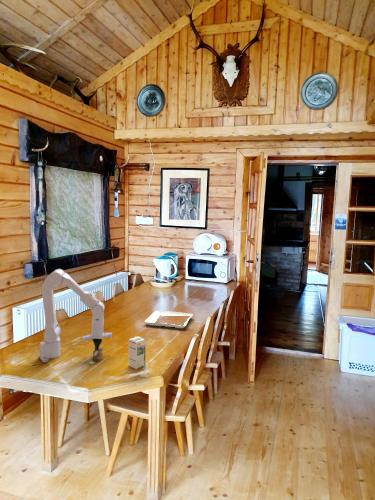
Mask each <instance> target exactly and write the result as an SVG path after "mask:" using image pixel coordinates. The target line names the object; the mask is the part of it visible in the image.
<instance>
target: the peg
mask: <svg viewBox="0 0 375 500" xmlns="http://www.w3.org/2000/svg"><path fill="white" fill-rule="evenodd" d="M103 351H104V350H103V346H99V349H98V350H95V349H94V350H93V351H92V361H93V362H101V361H102V360H103Z"/></svg>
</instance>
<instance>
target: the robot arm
mask: <svg viewBox="0 0 375 500" xmlns="http://www.w3.org/2000/svg"><path fill="white" fill-rule="evenodd" d="M58 285H60V286H61V287H63V286H64V287H68V288H69V289H70V290H71V291H72V292H74V293H75V294H76V295H78V296H79V300H80V301H81V302H82V303H83V304H84V305H85V306H86V307H87V308H88V309H89V310H90V311H91V314H92V315H91V316H92V317H91V334H86V335H82V341H83V342H86V341H90V340H92V342H93V345H94V350H98V349H99V348H100V347H101V344H102V342H103V339H105V338H112V337H113V333H112V332H104V326H105V325H104V318H105V317H104V315H105V314H104V310H105V304H104V302H103V301H100V299H97V298H96V297H95V295H94V294H93V293H92V292H90V291H85V290H84V289H83V288H82V287H81V285H79V283H77V282H76V281H75V280H74V279H73V278H72V277H71V276H70V275H69V274H68V273H67V272H65V271H64V270H63V269H61V268H57V269H55V270H54V271H52V272H51V273H50V274H49V275H47V276H46V278H45V280H44V282H43V284H42V286H41V294H42V303H43V312H44V318H45V325H44V334H43V339H44V340H43V341H41V342H39V345H38V346H39V347H38V348H39V350H38V351H39V353H38V354H39V356H38V357H39V359H40V360H41V361H42V363H48V362H50V359H56V358H57V357H60V356H61V338H60V334H61V332H62V329H61V327H60V325H59V321H58V320H57V313H56V305H55V304H56V303H55V297H54V288H55V287H56V286H58Z"/></svg>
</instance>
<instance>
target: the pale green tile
mask: <svg viewBox="0 0 375 500" xmlns="http://www.w3.org/2000/svg"><path fill="white" fill-rule="evenodd" d="M87 363H88V364H92V365H94V364H96V361H93V360H90V361H88V362H87Z"/></svg>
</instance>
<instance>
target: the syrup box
mask: <svg viewBox="0 0 375 500" xmlns="http://www.w3.org/2000/svg"><path fill="white" fill-rule="evenodd" d="M146 340H147V339H145V338H144V337H141V336H135V337H133V338H129V339H128V366H129V367H131V368H132V369H135V370H138V369H141V368H143V367H145V366H146V345H147V344H146V342H147V341H146Z"/></svg>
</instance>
